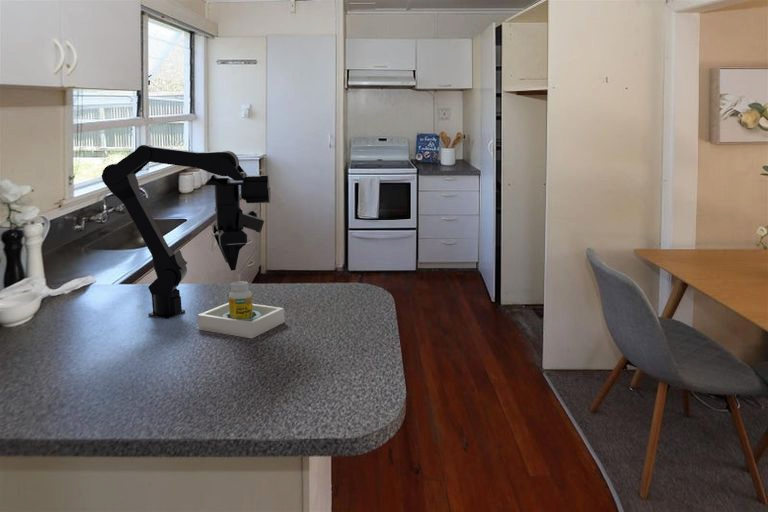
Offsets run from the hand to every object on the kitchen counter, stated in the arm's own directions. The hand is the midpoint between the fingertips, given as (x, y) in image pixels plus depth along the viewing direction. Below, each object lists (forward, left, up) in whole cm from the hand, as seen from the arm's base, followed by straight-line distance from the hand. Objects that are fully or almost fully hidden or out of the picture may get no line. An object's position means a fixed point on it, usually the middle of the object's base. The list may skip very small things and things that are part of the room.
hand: (230, 266), depth 162 cm
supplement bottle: (+8, -8, -11) cm, 16 cm away
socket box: (+8, -8, -12) cm, 16 cm away
